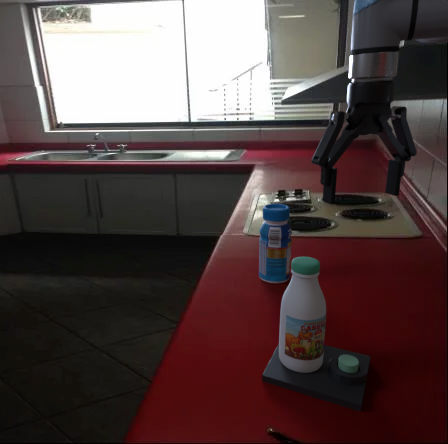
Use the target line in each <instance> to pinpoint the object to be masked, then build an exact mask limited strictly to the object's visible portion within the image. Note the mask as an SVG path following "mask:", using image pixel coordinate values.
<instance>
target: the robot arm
mask: <svg viewBox="0 0 448 444" xmlns="http://www.w3.org/2000/svg"><path fill="white" fill-rule="evenodd" d="M350 39H351V40H350V54H349V55H350V56H349V65H348V66H349V67H348V79H349V80H351V82H349V83H348V84H347V90H346V91H347V93H346V103H347V110H346V111H341V110H332V111H331V112H330V115H329V121H328V125H327V127H326V128H325V130H324V133H323V135H322V137H321V139H320V141H319V143H318V145H317V148H316V150H315V151H314V154H313V155H312V157H311V160H310V161H311V164H313V165H315V166H319V167H320V182H319V183H320V185H322V186H323V188H322V202H325V203H328V204H330V205H335V204H336V192H337V191H336V190H337V180H338V179H337V178H338V168H337V167H335V165H336V164H337V162H338V161H339V160H340V159H341V157H342V156H343V155H344V154H345V152H346V151H347V150H348V149H349V147H350V146H351V144H352V143H353V142H354V140H355V139H357V138H359V137H360V136H368V135H377V136H378V138H379V139H380V141H381V142H382V143H383V145H384V146H385V148H386V149H387V151H388V152H389V153H390V155H391V157H392V159H388V163H387V164H388V165H387V172H386V183H385V192H384V193H385V194H388V195H392V196H394V197H399V196H400V189H401V181H402V178H403V177H404V175H405V168H406V162H410V161H411V160H412V157H415V156H417V153H418V152H417V151H418V150H417V147H416V145H415V142H414V141H415V140H414V137H413V135H412V132H411V129H410V125H409V123H408V119H407V116H408V115H407V114H408V108H407V107H406V106H400V105H393V106H392V107H391V104H392V103H393V102H394V100H395V93H396V83H397V82H395V80H393V78H395V77H396V76H398V67H399V58H400V57H399V56H400V45H401V42H404V41H406V42H407V41H416V42H418V43H419V44H422V45H429V46H430V45H436V44H442V43H446V44H447V43H448V0H354V4H353V11H352V23H351V38H350ZM389 120H390V122H391V125H392V126H391V125H390V123H389V122H388V121H389ZM344 124H346V125H345V126H344ZM393 131H394V132H393ZM339 135H340V136H339Z"/></svg>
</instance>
